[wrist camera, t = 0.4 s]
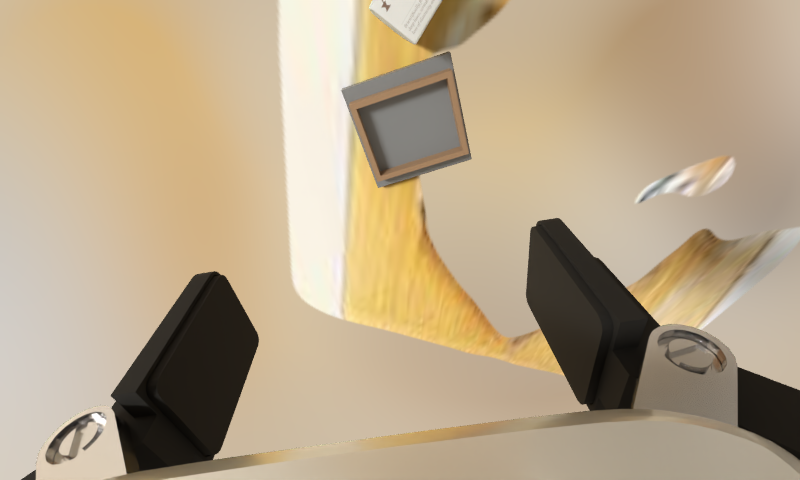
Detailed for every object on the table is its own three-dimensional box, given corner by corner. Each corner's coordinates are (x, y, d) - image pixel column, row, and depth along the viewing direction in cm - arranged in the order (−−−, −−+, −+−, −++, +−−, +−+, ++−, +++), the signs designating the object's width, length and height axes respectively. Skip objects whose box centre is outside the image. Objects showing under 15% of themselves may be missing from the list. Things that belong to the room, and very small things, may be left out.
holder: (342, 88, 38) (340, 93, 36) (448, 51, 37) (452, 53, 34) (378, 184, 44) (378, 193, 42) (469, 156, 43) (474, 163, 41)
